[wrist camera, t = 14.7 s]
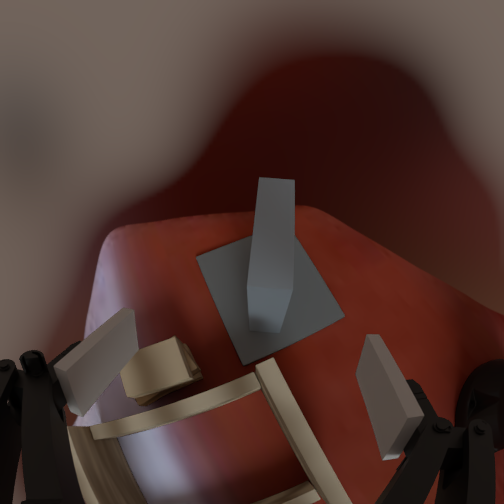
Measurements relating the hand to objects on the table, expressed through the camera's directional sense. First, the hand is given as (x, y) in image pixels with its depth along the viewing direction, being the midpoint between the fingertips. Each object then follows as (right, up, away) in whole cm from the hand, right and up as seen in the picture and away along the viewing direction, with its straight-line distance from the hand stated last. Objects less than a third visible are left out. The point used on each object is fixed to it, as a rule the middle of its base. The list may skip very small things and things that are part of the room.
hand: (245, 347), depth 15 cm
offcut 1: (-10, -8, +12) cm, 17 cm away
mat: (+2, 0, +22) cm, 22 cm away
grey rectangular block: (+2, +1, +21) cm, 22 cm away
